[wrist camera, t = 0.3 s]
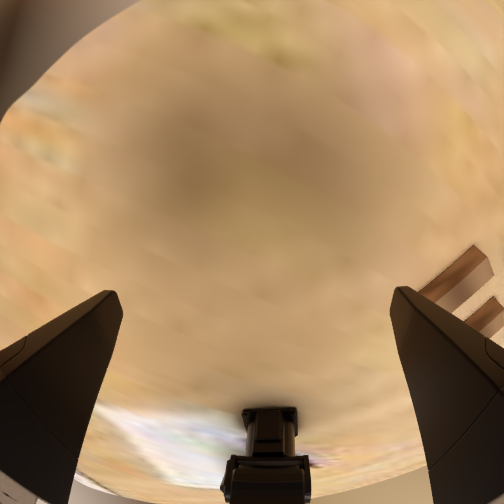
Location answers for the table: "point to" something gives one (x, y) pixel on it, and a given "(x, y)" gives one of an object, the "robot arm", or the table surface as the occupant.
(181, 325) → the table surface
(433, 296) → the slot block
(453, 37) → the table surface
